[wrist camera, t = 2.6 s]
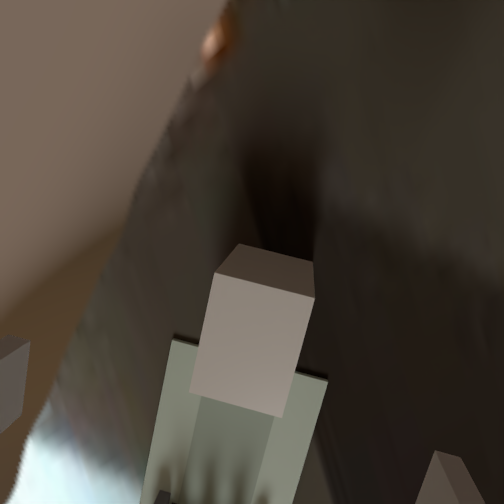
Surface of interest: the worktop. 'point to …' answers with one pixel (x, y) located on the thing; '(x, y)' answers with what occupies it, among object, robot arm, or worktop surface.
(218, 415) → the board
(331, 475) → the worktop surface
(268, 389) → the plug housing
